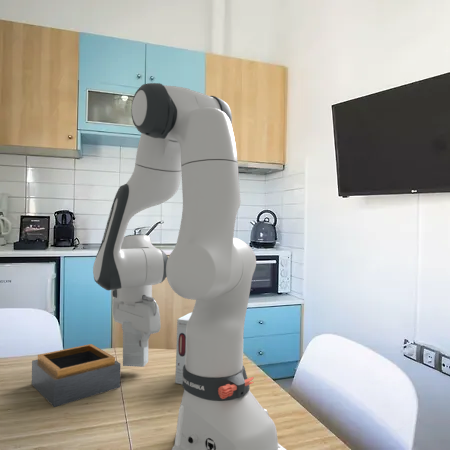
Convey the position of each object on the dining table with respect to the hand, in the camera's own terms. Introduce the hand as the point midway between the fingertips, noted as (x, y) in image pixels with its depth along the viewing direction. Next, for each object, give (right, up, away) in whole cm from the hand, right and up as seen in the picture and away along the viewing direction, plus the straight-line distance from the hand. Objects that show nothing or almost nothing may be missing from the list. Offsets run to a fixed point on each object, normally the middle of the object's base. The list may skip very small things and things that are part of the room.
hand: (135, 343), depth 104 cm
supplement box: (+18, -9, -3) cm, 20 cm away
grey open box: (-14, -8, -8) cm, 18 cm away
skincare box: (0, -6, 0) cm, 6 cm away
